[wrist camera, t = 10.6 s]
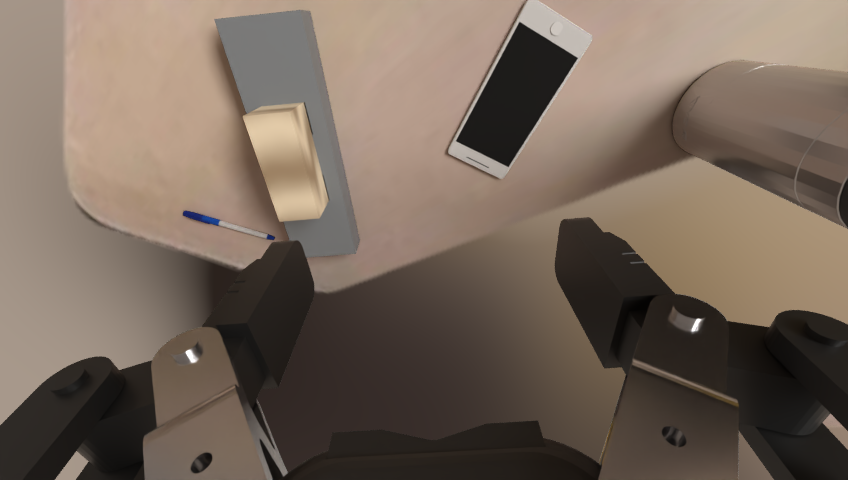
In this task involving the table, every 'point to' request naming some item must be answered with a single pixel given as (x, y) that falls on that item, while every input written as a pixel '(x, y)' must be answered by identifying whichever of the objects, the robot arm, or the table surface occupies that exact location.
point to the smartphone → (519, 88)
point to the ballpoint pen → (225, 224)
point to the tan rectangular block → (288, 160)
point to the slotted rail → (285, 84)
